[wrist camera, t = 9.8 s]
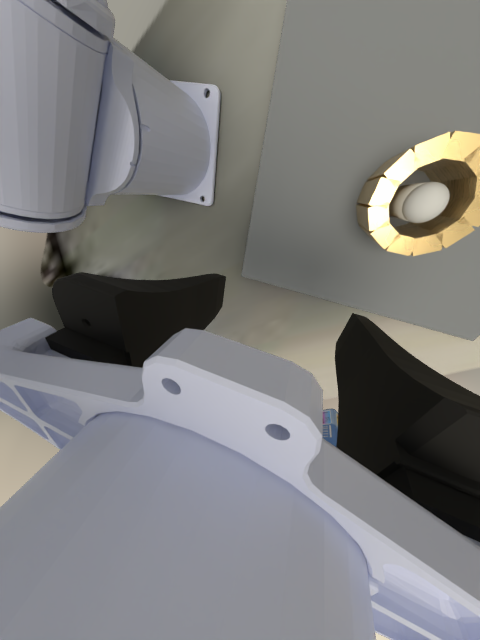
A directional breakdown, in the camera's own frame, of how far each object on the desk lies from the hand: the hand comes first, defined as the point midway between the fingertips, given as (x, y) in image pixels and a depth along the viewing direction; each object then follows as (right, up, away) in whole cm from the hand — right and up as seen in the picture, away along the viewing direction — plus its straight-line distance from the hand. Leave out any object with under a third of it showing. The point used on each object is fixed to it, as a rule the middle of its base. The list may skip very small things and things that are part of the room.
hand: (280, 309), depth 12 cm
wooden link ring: (+9, +8, +3) cm, 13 cm away
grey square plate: (+10, +8, +4) cm, 13 cm away
